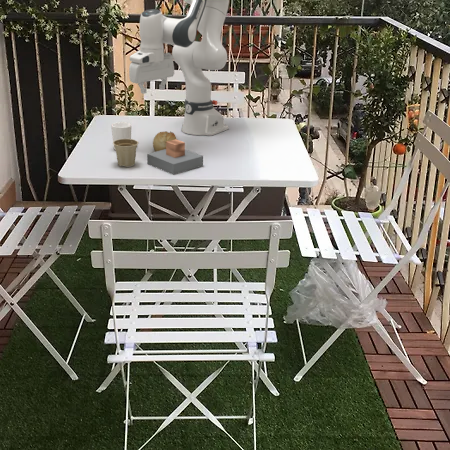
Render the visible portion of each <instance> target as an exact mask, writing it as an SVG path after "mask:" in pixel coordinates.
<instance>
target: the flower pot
mask: <svg viewBox="0 0 450 450" xmlns="http://www.w3.org/2000/svg"><path fill="white" fill-rule="evenodd" d="M112 145H113V148H114V147H115V149H116V150H115V152H116V153H115V154H116V159H117V165H118V166H120V167H126V168H127V167H128V168H129V167H133V166H134V165H135V163H136V155H137V148H138V145H139V141H138V140H136V139H133V138H131V139H118V140H115V141H114V142H113V141H112Z"/></svg>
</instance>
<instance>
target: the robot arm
mask: <svg viewBox="0 0 450 450" xmlns="http://www.w3.org/2000/svg"><path fill="white" fill-rule="evenodd" d="M183 1H184V2H185V3H186V4H189V5H190V7H189V9H188V12H187V15H186V17H184V18H173V17H167V16H165V15H163V14H162V11H160V10H159V9H155V8H152V9H146V10H144V11H143V12H141V14H140V17H139V37H140V44H139V50H137V51H136V52H135V53H133V54H131V55H129V61H130V64H129V67H128V68H129V69H128V71H129V72H128V77H129V80H130V82H131V83H132V84H137V85H138V87H139V89H140V93H141V94H147V88H145V86H144V85H145V83H146V82H153V81H157V80H161V82H160V84H158V85H159V86H158V87H159V88H158V89H159V90H161V91H162V90H165V88H166V84H167V82H168V78H173V77H174V75H175V65H174V62H175V63H176V64H177V66H179V68H180V71H181V72H182V74H183V77H184V83H185V99H184V110H185V111H184V118H183V122H182V123H183V124H182V127H181V131H182V132H183V133H184V134H188V135H193V136H208V137H209V136H214V135H217V134H220V133H222V132H224V131H227V130H230V129H229V128H230V127H229V125H227V124H225V120H224V119H225V118H224V115H222V114H221V113H220V112H219V111H218V110H217V109H215V108H214V106H217V105H218V102H219V101H218V100H215V99H211V98H212V97H211V96H212V83H211V81H210V79H209V78H208V77H207V76H206V75H205V74H204V72H203V70H207V71H216V70H217V71H220V70H222V69H223V68H224V67H225V66H226V64H227V61H228V54H227V53H228V52H227V50H226V48H225V47H224V46H223V43H222V38H221V34H222V30H223V26H224V24H225V20H226V17H227V14H228V11H229V4H230V0H183ZM198 32H199V33H200V35H201V36H202V38H201V41H198V40H197V41H196V38H197V33H198ZM164 44H167V45H171V46H173V47H172V52H165V51H164ZM164 52H165V53H164Z"/></svg>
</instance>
